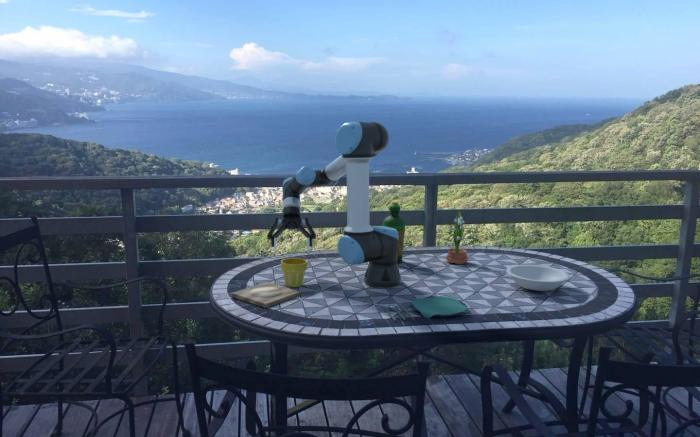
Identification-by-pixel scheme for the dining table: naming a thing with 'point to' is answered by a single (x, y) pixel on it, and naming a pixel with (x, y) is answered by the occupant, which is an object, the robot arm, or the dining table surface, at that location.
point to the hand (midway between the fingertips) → (291, 252)
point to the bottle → (396, 226)
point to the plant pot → (293, 271)
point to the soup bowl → (537, 277)
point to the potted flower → (457, 243)
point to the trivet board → (266, 294)
